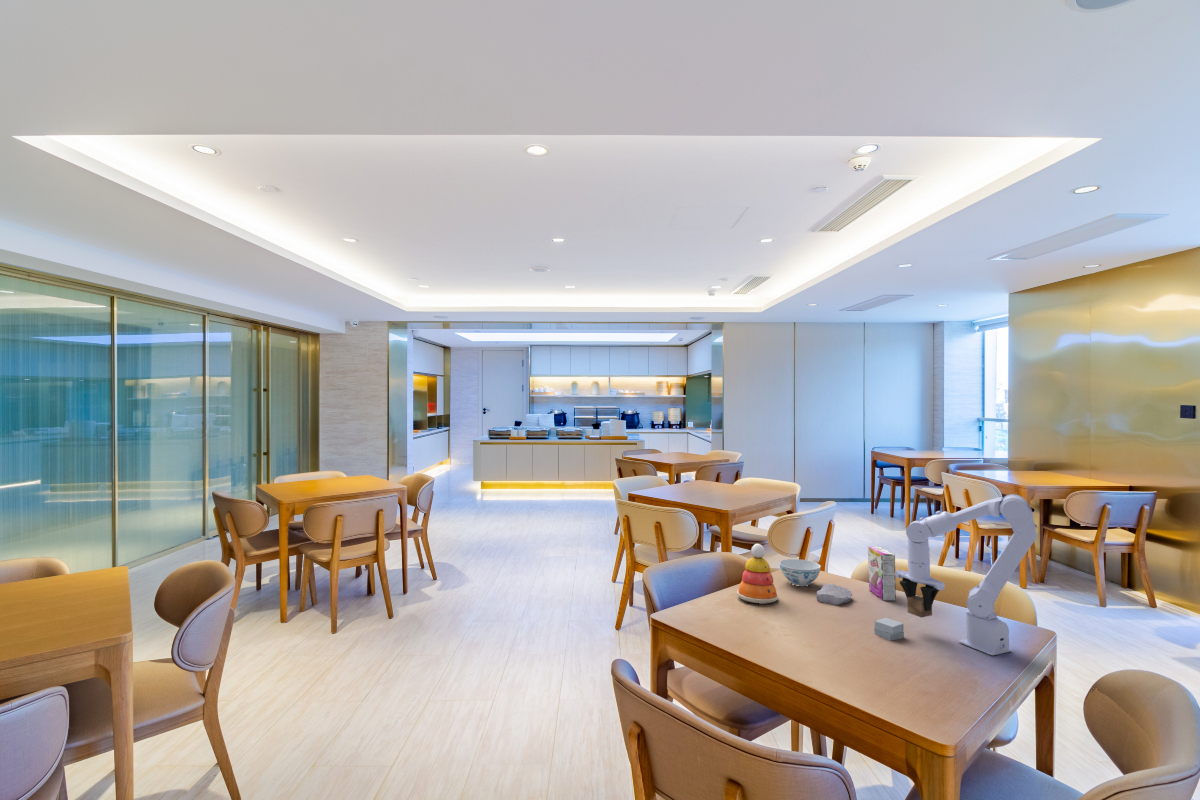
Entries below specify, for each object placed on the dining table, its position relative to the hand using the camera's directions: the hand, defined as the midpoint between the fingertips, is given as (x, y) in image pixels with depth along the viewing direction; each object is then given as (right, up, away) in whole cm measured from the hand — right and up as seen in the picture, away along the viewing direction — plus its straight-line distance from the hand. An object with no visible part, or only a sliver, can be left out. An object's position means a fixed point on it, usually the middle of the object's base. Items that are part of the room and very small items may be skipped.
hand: (919, 607), depth 164 cm
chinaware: (-19, -9, +47) cm, 52 cm away
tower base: (-10, -8, -2) cm, 13 cm away
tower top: (-10, -6, -2) cm, 12 cm away
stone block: (-13, -9, +30) cm, 33 cm away
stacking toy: (-40, -9, +30) cm, 51 cm away
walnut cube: (0, -2, 0) cm, 2 cm away
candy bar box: (+6, -9, +34) cm, 36 cm away
